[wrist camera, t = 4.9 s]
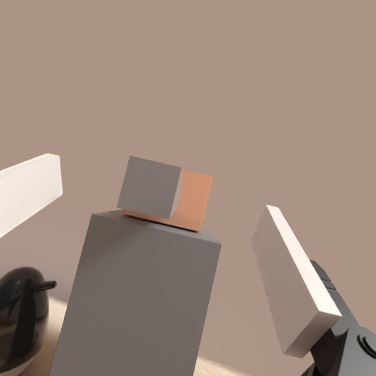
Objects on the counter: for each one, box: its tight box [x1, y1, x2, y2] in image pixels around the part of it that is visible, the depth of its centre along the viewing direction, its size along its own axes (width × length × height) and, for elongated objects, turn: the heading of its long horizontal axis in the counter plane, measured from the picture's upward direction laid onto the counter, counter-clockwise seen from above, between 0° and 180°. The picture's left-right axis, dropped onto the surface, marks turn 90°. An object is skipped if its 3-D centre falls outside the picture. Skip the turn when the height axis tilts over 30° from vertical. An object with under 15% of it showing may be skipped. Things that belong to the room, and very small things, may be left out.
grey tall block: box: [49, 210, 221, 376], centre depth 26 cm, size 12×14×27 cm
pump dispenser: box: [0, 266, 57, 376], centre depth 30 cm, size 10×10×15 cm
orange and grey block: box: [117, 156, 213, 232], centre depth 22 cm, size 22×10×7 cm, turn 2°
